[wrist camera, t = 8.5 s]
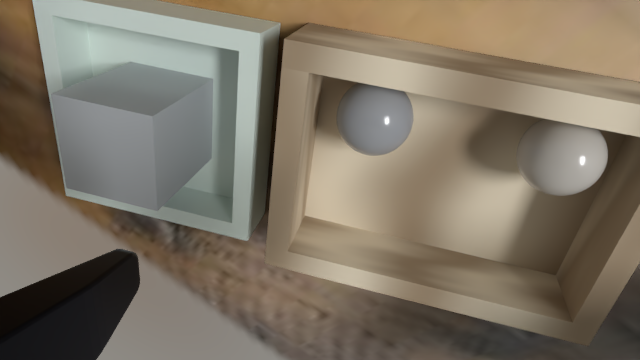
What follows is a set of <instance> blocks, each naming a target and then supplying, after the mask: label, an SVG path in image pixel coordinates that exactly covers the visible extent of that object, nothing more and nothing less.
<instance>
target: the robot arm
mask: <svg viewBox="0 0 640 360" xmlns="http://www.w3.org/2000/svg"><path fill="white" fill-rule="evenodd" d="M139 284H140V275H139V263H138V256H137V255H136V253H134V252H131V251H127V250H123V249H116V250H113V251H111V252H109V253H106V254H104V255H102V256H99V257H96V258H94V259H92V260H90V261H87V262H85V263H82V264H80V265H77V266H75V267H72V268H70V269H68V270H65V271H63V272H61V273H58V274H55V275H53V276H51V277H48V278H46V279H43V280H41V281H39V282H36V283H34V284H31V285H29V286H27V287H24V288H22V289H19V290H17V291H14V292H12V293H10V294H7V295H5V296H2V297H0V360H96V359H97V358H98V356H99V355H100V354H101V352H102V350H103V349H104V347H105V345H106V344H107V342H108V341H109V339H110V337H111V336H112V334H113V332H114V330H115V329H116V327H117V325H118V323H119V322H120V320H121V318H122V317H123V315H124V313H125V311H126V310H127V308H128V306H129V305H130V303H131V301H132V299H133V297H134V296H135V294H136V293H137V291H138V288H139Z"/></svg>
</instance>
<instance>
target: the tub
mask: <svg viewBox="0 0 640 360" xmlns="http://www.w3.org/2000/svg"><path fill="white" fill-rule="evenodd" d="M32 1H33V7H34V13H35V19H36V24H37V30H38V36H39V42H40V48H41V53H42V59H43V65H44V71H45V76H46V82H47V88H48V94H49V100H50V105H51V111H52V117H53V123H54V129H55V134H56V140H57V146H58V152H59V157H60V163H61V169H62V175H63V181H64V186H65V192H66V196H70V197H74V198H78V199H82V200H86V201H90V202H94V203H98V204H102V205H106V206H110V207H114V208H118V209H122V210H126V211H130V212H134V213H138V214H142V215H146V216H150V217H154V218H158V219H162V220H166V221H170V222H174V223H178V224H182V225H186V226H190V227H194V228H198V229H202V230H206V231H210V232H214V233H218V234H221V235H225V236H229V237H233V238H237V239H241V240H245V241H248V239H249V238H250V236H251V235H252V233H253V231H254V230H255V228H256V227H257V225H258V223H259V222H260V220H261V219H262V217H263V215H264V214H265V204H266V192H267V180H268V168H269V156H270V144H271V132H272V120H273V108H274V96H275V84H276V72H277V59H278V47H279V35H280V23H279V22H273V21H268V20H262V19H257V18H251V17H246V16H240V15H235V14H229V13H224V12H218V11H212V10H207V9H201V8H196V7H190V6H185V5H179V4H174V3H168V2H163V1H157V0H32ZM129 62H135V63H140V64H145V65H149V66H154V67H159V68H164V69H169V70H174V71H178V72H183V73H188V74H193V75H198V76H202V77H207V78H212V79H213V122H212V159H211V160H210V161H209V162H208V163H207V164H205V165H204V166H203V167H202V168H201V169H200V170H199V171H198V172H197V173H196V174H195V175H194V176H193V177H192V178H191V179H190V180H189V181H188V182H187V183H186V184H185V185H184V186H183V187H182V188H181V189H180V190H179V191H178V192H177V193H176V194H175V195H174V196H173V197H171V198H170V199H169V200H168V201H167V202H166V203H165V204H164V205H163V206H162V207H161V208H160V209H159V210H158V211H155V210H151V209H147V208H143V207H139V206H135V205H131V204H127V203H123V202H119V201H115V200H111V199H107V198H103V197H100V196H96V195H92V194H88V193H84V192H80V191H76V190H72V189H68V188H66V182H65V176H64V170H63V164H62V158H61V152H60V146H59V140H58V134H57V128H56V122H55V116H54V110H53V104H52V98H51V93H54V92H56V91H59V90H62V89H64V88H67V87H69V86H72V85H74V84H77V83H79V82H82V81H84V80H87V79H89V78H92V77H94V76H97V75H99V74H102V73H104V72H107V71H109V70H112V69H114V68H117V67H119V66H122V65H124V64H127V63H129Z"/></svg>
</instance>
